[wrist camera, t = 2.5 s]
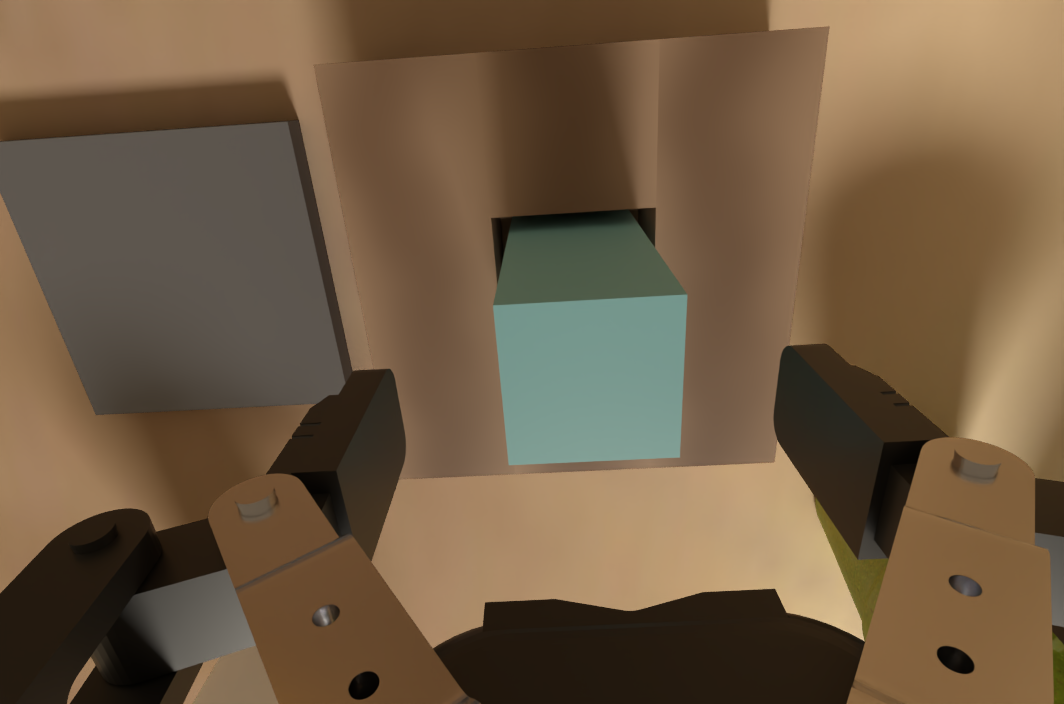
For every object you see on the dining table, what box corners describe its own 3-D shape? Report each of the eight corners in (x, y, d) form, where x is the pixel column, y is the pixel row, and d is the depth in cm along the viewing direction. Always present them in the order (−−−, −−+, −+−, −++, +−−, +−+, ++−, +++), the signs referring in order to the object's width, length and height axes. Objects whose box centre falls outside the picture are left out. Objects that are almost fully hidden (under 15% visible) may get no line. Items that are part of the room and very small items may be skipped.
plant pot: (791, 403, 26) (902, 545, 18) (1013, 395, 25) (1226, 536, 17) (766, 566, 29) (848, 742, 22) (958, 561, 29) (1113, 738, 21)
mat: (298, 120, 21) (287, 121, 20) (356, 390, 26) (349, 402, 25) (3, 141, 21) (-21, 143, 21) (111, 403, 26) (96, 414, 25)
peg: (624, 203, 21) (687, 294, 12) (624, 308, 23) (679, 457, 14) (513, 210, 21) (492, 305, 12) (521, 314, 23) (509, 465, 14)
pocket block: (769, 38, 20) (829, 26, 16) (736, 401, 26) (774, 462, 21) (359, 68, 20) (313, 64, 16) (418, 417, 26) (395, 479, 22)
